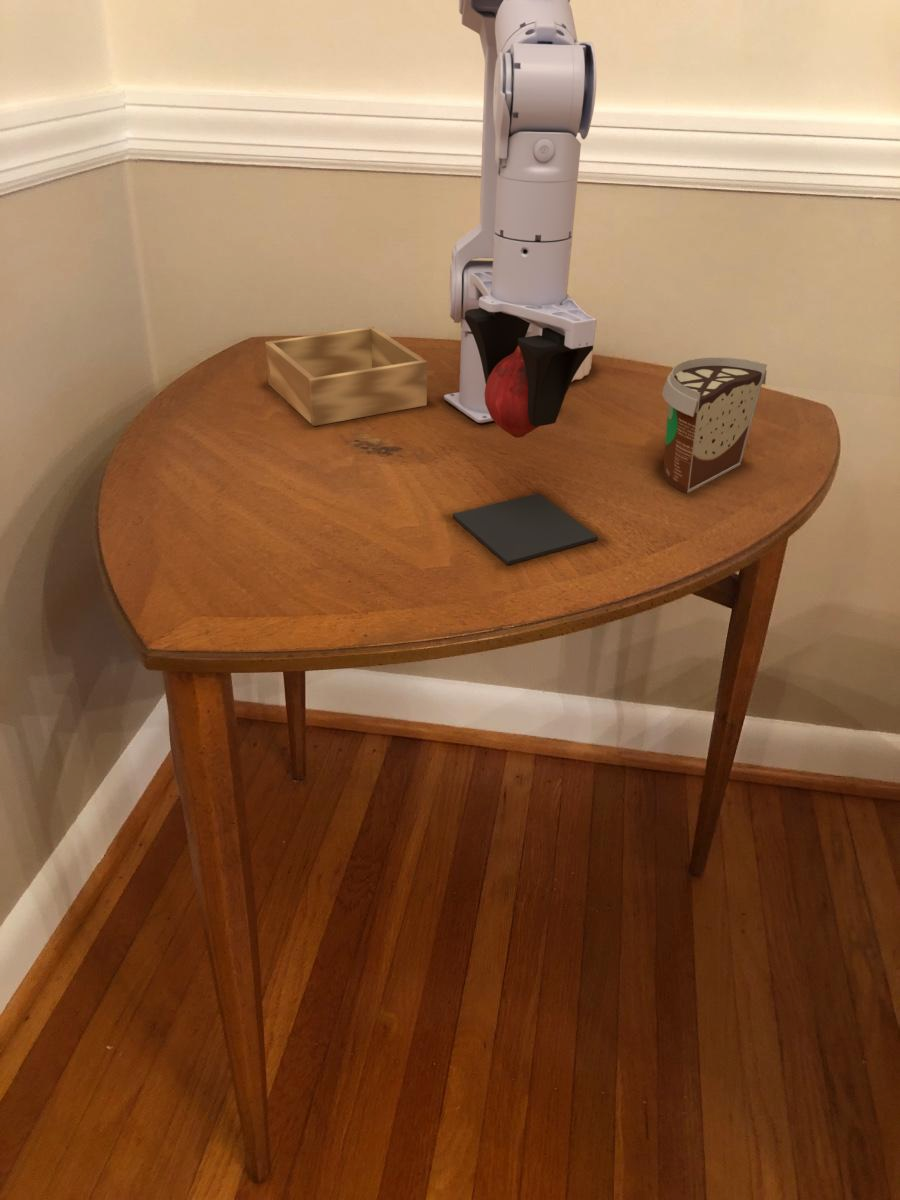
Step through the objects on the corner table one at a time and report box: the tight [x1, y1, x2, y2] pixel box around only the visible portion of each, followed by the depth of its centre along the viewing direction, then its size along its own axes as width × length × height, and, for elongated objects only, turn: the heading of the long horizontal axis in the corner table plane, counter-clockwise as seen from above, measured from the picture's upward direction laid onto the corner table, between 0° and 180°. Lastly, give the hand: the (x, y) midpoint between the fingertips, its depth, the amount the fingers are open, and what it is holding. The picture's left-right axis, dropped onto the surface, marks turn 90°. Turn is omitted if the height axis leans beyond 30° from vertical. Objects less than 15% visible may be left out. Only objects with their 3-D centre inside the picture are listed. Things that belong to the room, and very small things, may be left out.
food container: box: [661, 356, 768, 494], centre depth 89 cm, size 12×6×10 cm, turn 135°
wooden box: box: [264, 326, 428, 427], centre depth 104 cm, size 13×13×5 cm
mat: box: [452, 492, 599, 566], centre depth 81 cm, size 9×9×1 cm
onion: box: [484, 345, 540, 439], centre depth 75 cm, size 6×6×8 cm
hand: (520, 409), depth 76 cm, fingers closed on onion, 6 cm apart
